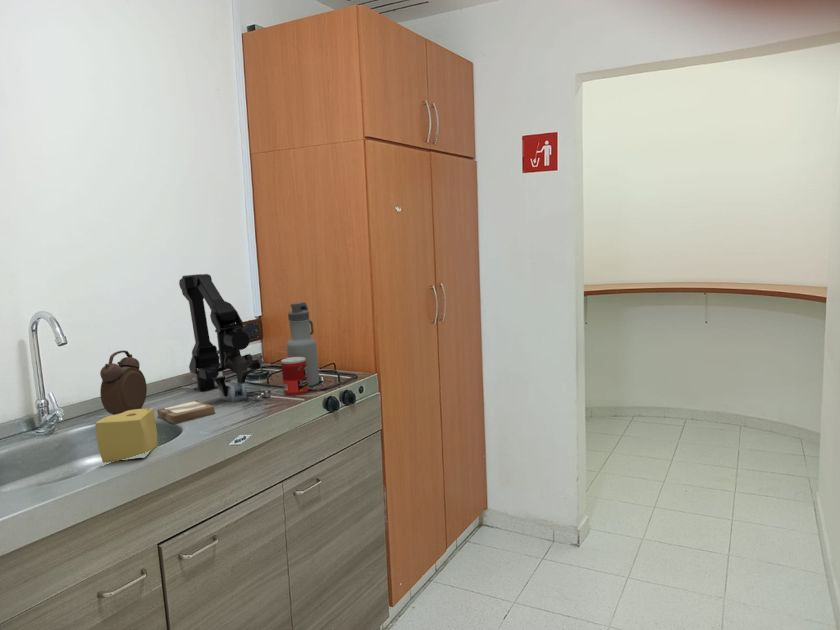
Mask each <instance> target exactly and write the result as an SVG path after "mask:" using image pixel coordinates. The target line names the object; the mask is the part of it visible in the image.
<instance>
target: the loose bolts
mask: <svg viewBox="0 0 840 630" xmlns="http://www.w3.org/2000/svg"><path fill="white" fill-rule="evenodd" d="M271 394H272V391H271V390H270V389H269V390H266V389H259V390H258V392H257V391H256V392H254V394H253V401H254V402H261V401H263V399H264V398H267V399H268V398H270V397H271Z"/></svg>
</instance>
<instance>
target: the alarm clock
mask: <svg viewBox="0 0 840 630" xmlns="http://www.w3.org/2000/svg"><path fill="white" fill-rule="evenodd" d="M122 353H124V354H125V357H123V358H121V359H120V361H117V363H115V362H114V363H113V361H114V357H116V356H117V355H118V354H122ZM140 366H141V364H140V361H139V360H138V359H137V358H135V357H133V354H131V353H130V352H129V351H128V350H118V351H116V352H113V353H112V354H111V355H110V356H109V360H108V363H105V365H104V366H102V368H101V369H100V374H99V376H100V378H101V385H100V394H99V395H100V400H101V404H102V406H103V407H104V408H103V409H105V411H106V412H107V413H109V414H111V415H116V414H120V413H123V412H125V411H128V410H134V409H143V406H144V404H145V401H146V399H147V392H148V390H147V380H146V377H145V374H144V373H143V372H142V371H141V369H140Z"/></svg>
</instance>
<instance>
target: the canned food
mask: <svg viewBox="0 0 840 630" xmlns="http://www.w3.org/2000/svg"><path fill="white" fill-rule="evenodd" d="M280 362H281V363H280V364H281V365H280V367H281V373H282V383H283V391H284V394H285V395H287V396H298V395H305V394H306V393H308V392H309V387H308V378H307V367H306V359H305V358H304V357H290V358H288V357H286V358H283V359H281V360H280Z"/></svg>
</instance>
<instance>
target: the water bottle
mask: <svg viewBox="0 0 840 630" xmlns="http://www.w3.org/2000/svg"><path fill="white" fill-rule="evenodd" d="M290 308H291V310H290V311H289V312H288V313H287V317H288V318H287V319H288V322H289V331H290V339H289V340H288V341H287V343H286V350H287V351H286V352H287V358H290V357H304V358H305V359H306V367H307V378H308V388H310V387H313V386H316V385H318V384H319V382H320V371H319V362H318V349H317V340H315V339H314V338H312V335H313V334H314V323H313V321H312V320H311V318H310V311H309V308H308V305H307V303H306V302H304V301H302V302H293V303H290Z"/></svg>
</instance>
